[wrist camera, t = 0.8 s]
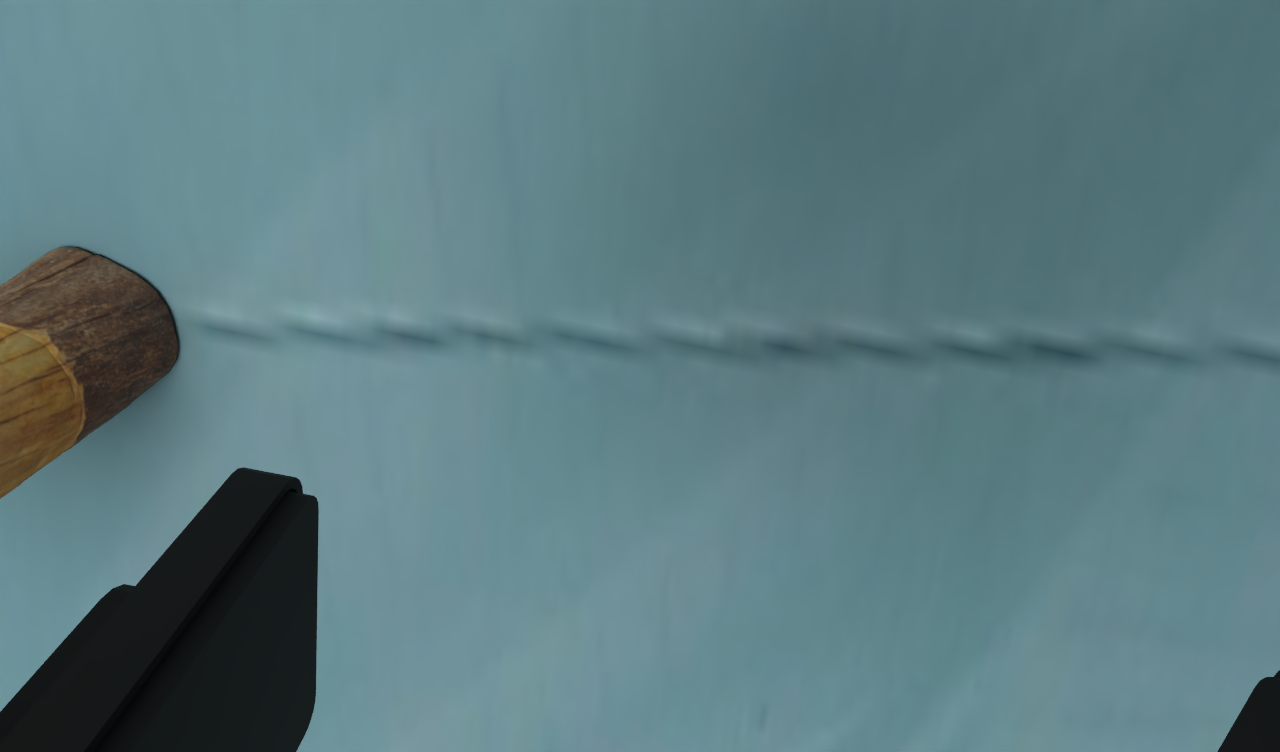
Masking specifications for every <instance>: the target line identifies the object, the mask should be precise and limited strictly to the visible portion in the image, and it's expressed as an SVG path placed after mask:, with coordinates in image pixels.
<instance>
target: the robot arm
mask: <svg viewBox="0 0 1280 752" xmlns="http://www.w3.org/2000/svg"><path fill="white" fill-rule="evenodd" d="M317 574H318V501H317V498H316V497H314V496H311V495H306V494H303V491H302V485H301V482H300V480H299V479H297V478H296V477H291V476H285V475H280V474H275V473H269V472H264V471H259V470H253V469H248V468H239V469H237V470H236V471H235V472H233V473H232V474H231V475H230V477H229V478H228V479H227V480H226V481H225V482H224V484H223V485H222V486H221V487H220V488H219V489H218V491H217V492H216V493H215V494H214V495H213V496H212V498H211V499H210V500H209V501H208V502H207V503H206V505H205V506H204V507H203V508H202V509H201V510H200V512H199V513H198V514H197V515H196V516H195V517H194V519H193V520H192V521H191V522H190V523H189V524H188V526H187V527H186V528H185V529H184V530H183V531H182V533H181V534H180V535H179V536H178V537H177V538H176V540H175V541H174V542H173V543H172V544H171V545H170V547H169V548H168V549H167V550H166V551H165V552H164V554H163V555H162V556H161V557H160V558H159V559H158V561H157V562H156V563H155V564H154V565H153V566H152V567H151V569H150V570H149V571H148V572H147V573H146V574H145V576H144V577H143V578H142V579H141V580H140V581H139V583H138V584H137V585H136V586H131V585H126V584H123V585H121V586H118V587H116V588H113V589H112V590H111V591H110V592H108V593H107V594H106V595H105V596H104V597H103V598H102V599H100V601H99V602H98V603H97V604H96V605H95V606H94V607H93V608H92V610H91V611H90V612H89V613H88V614H87V615H86V616H85V617H84V619H83V620H82V621H81V622H80V623H79V624H78V625H77V626H76V628H75V629H74V630H73V631H72V632H71V633H70V634H69V635H68V637H67V638H66V639H65V640H64V641H63V642H62V643H61V644H60V646H59V647H58V648H57V649H56V650H55V651H54V652H53V653H52V655H51V656H50V657H49V658H48V659H47V660H46V661H45V662H44V664H43V665H42V666H41V667H40V668H39V669H38V670H37V671H36V673H35V674H34V675H33V676H32V677H31V678H30V679H29V680H28V681H27V683H26V684H25V685H24V686H23V687H22V688H21V689H20V690H19V692H18V693H17V694H16V695H15V696H14V697H13V698H12V699H11V701H10V702H9V703H8V704H7V705H6V706H5V707H4V708H3V710H2V711H1V712H0V752H296V751H297V749H298V747H299V745H300V743H301V741H302V739H303V737H304V735H305V733H306V731H307V729H308V726H309V723H310V720H311V717H312V713H313V710H314V704H315V696H316V641H317ZM1218 752H1280V671H1278V672H1277V673H1276V675H1275V676H1274V677H1266V678H1264V679H1262V680H1261V681H1259V683H1258V684H1257V685H1256V687H1255V688H1254V690H1253V692H1252V693H1251V695H1250V697H1249V698H1248V700H1247V702H1246V704H1245V705H1244V707H1243V709H1242V710H1241V712H1240V714H1239V716H1238V717H1237V719H1236V721H1235V723H1234V724H1233V726H1232V728H1231V729H1230V731H1229V733H1228V735H1227V736H1226V738H1225V740H1224V742H1223V743H1222V745H1221V747H1220V748H1219V750H1218Z"/></svg>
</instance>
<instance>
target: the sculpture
mask: <svg viewBox="0 0 1280 752" xmlns="http://www.w3.org/2000/svg"><path fill="white" fill-rule="evenodd" d="M177 353H178V343H177V338H176V334H175V329H174V325H173V321H172V318H171V315H170V313H169V310H168V308H167V306H166V305H165V303H164V302H163V300H162V299H161V297H160V296H159V294H158V293H157V292H156V291H155V290H154V289H153V288H152V287H151V286H150V285H149V284H148V283H147V282H145V281H144V280H142V279H141V278H140V277H138V276H137V275H136V274H134V273H132V272H130V271H128V270H126V269H125V268H123V267H121V266H119V265H117V264H116V263H114V262H112V261H110V260H108V259H106V258H104V257H101V256H99V255H93V254H91V253H89V252H86V251H84V250H81V249H79V248H76V247H60V248H57V249H55V250H52V251H50V252H48V253H47V254H45V255H44V256H42V257H41V258H39V259H38V260H36V261H35V262H33V263H32V264H30V265H29V266H28V267H26V268H25V269H24V270H23V271H21V272H20V273H19V274H17V275H16V276H14V277H13V278H11V279H10V280H8V281H7V282H5V283H4V284H2V285H1V286H0V498H2V497H3V496H5V495H6V494H8V493H9V492H10V491H12V490H13V489H15V488H16V487H18V486H19V485H20V484H21V483H22V482H23V481H25V480H26V479H27V478H29V477H30V476H32V475H33V474H34V473H36V472H37V471H38V470H40V469H41V468H43V467H44V466H45V465H47V464H48V463H50V462H51V461H53V460H54V459H56V458H57V457H58V456H59V455H60V454H62V453H63V452H65V451H67V450H68V449H70V448H72V447H73V446H74V445H75V444H77V443H78V442H79V441H81V440H82V439H83V438H85V437H86V436H87V435H88V434H90V433H91V432H93V431H94V430H95V429H97V428H98V427H100V426H101V425H103V424H104V423H106V422H107V421H108V420H110V419H111V418H113V417H114V416H115V415H117V414H118V413H119V412H121V411H122V410H123V409H125V408H126V407H127V406H128V405H130V404H131V403H132V402H133V401H134V400H135V399H136V398H137V397H138V396H140V395H141V394H142V393H143V392H145V391H146V390H147V389H148V388H150V387H151V386H152V385H153V384H155V383H156V382H157V381H159V380H160V379H161V378H162V377H164V376H165V375H166V374H167V373H168V372H169V371H170V369H171V368H172V366H173V364H174V363H175V361H176V359H177Z"/></svg>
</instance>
